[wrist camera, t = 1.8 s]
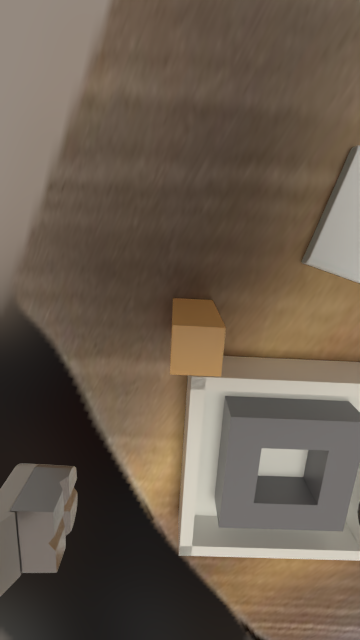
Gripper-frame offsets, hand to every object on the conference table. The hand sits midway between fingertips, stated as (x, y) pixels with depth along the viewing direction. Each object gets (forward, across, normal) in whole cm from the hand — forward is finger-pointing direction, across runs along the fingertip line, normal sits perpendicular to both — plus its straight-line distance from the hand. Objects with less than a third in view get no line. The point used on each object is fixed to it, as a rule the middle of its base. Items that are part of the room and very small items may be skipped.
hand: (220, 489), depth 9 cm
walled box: (+17, -8, +11) cm, 22 cm away
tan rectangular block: (+17, 0, 0) cm, 17 cm away
